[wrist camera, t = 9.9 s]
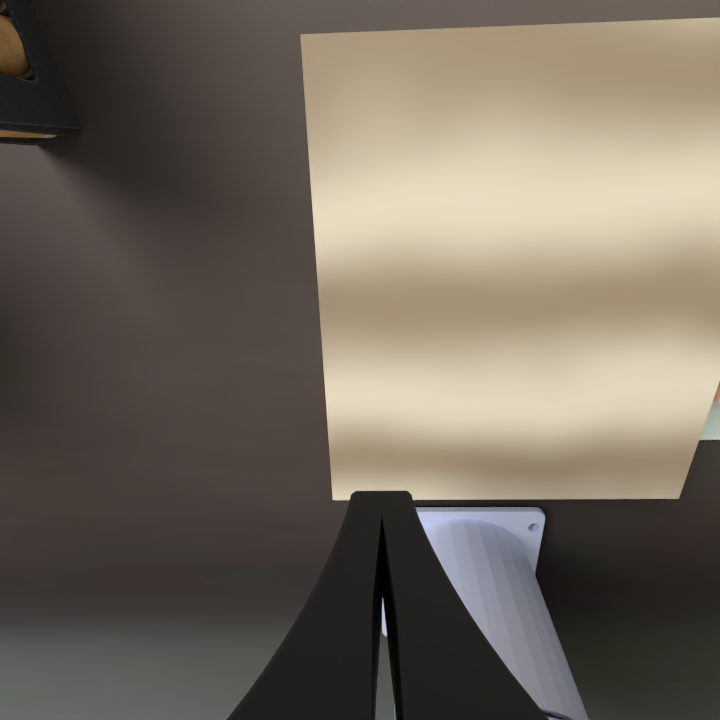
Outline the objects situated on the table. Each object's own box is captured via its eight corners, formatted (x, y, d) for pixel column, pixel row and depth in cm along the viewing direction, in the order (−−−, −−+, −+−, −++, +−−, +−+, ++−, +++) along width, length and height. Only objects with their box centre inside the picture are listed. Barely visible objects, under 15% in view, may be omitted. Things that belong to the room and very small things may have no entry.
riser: (639, 452, 21) (678, 498, 19) (337, 455, 22) (332, 499, 19) (759, 36, 14) (847, 12, 12) (313, 53, 15) (300, 34, 12)
